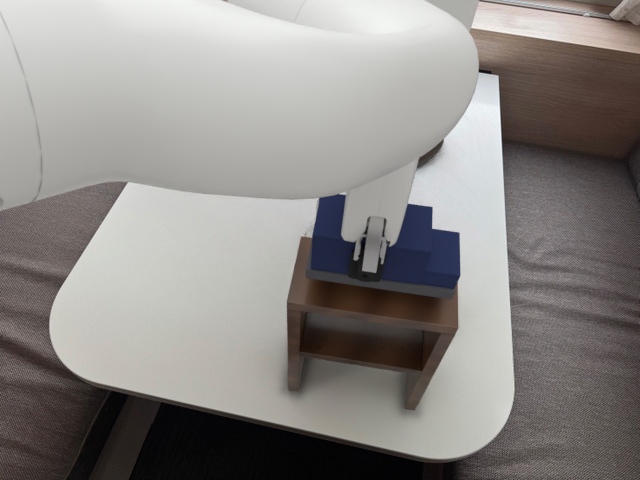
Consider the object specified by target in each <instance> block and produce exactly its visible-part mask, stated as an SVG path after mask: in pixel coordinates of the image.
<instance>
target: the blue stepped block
mask: <svg viewBox="0 0 640 480" xmlns="http://www.w3.org/2000/svg"><path fill="white" fill-rule="evenodd" d="M345 198H346V194H344V193H340V194H337V195H333V196H327V197H321V198H320V200H319V205H318V210H317V215H316V214H315V221H314V224H315V225H314V230H313V235H312V240H311V245H310V250H309V255H308V260H307V265H306V271H305V278H309V279H316V280H323V281H329V282H336V283H343V284H350V285H356V286H363V287H370V288H377V289H384V290H390V291H397V292H404V293H411V294H417V295H424V296H431V297H438V298H444V299H452V298H453V296H454V294H455V287H456V284H457V282H458V283H459V280H460V278H461V276H462V275H461V236H460V234H461V233H460V232H459V231H452V230H446V229H445V230H444V229H437V228H433V214H434V213H433V209H434V208H433V206H429V205H421V204H415V203H408V204H407V208H406V212H405V216H404V219H403V223H402V226H401V230H400V233H399V236H398V239H397V241H396V243H395V244H394V245H392V246H390V247H389V245H388V244H387V247H386V252H385V255H386V260H385V264H384V268H383V273H382V277H381V281H380V282H372V281H371V282H363V281H359V280H358V279H352V278H349V277H348V273H349V266H350V259H351V253H352V250H355V245H356V241H355V242H349V241H345V240H344V239H343V237H342V236H341V230H342V222H343V215H344V206H345ZM367 228H368V226H367ZM365 244H366V240H364V239H362V244H361V247H362V248H365Z"/></svg>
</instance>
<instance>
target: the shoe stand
mask: <svg viewBox="0 0 640 480" xmlns="http://www.w3.org/2000/svg"><path fill="white" fill-rule="evenodd" d="M311 240H312V238H310V237H306V236H300V239H299V244H298V249H297V253H296V258H295V262H294V267H293V271H292V276H291V280H290V284H289V290H288V294H287V299H286V344H287V345H286V347H287V348H286V349H287V390H288V391H292V392H299V389H300V385H301V379H302V373H303V368H304V361H305V358H307V359H313V360H319V361H326V362H333V363H338V364H339V363H340V364H344V365H351V366H352V365H353V366H358V367H365V368H369V369H370V368H371V369H375V370H376V369H377V370H383V371H389V372H397V373H401V374H405V385H404V387H405V388H404V404H403V405H404V407H403V408H404V409H405V410H410V411H416V410H417V408H418V405H419V404H420V402H421V400H422V398H423V396H424V394H425V392H426V391H427V389H428V387H429V384H430V383H431V381H432V380H433V377H434V376H435V373H436V372H437V370H438V368H439V367H440V364H441V363H442V360H443V359H444V357H445V355H446V353H447V351H448V349H449V347H450V345H451V343H452V341H453V340H454V338H455V336H456V334H457V332H458V330H459V281H458V282H457V284H456V287H455V294H454V296H453V298H452V299H444V298H438V297H431V296H424V295H417V294H411V293H404V292H397V291H390V290H384V289H377V288H370V287H363V286H356V285H350V284H343V283H336V282H329V281H323V280H316V279H309V278H305V271H306V265H307V260H308V255H309V250H310V245H311Z"/></svg>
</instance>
